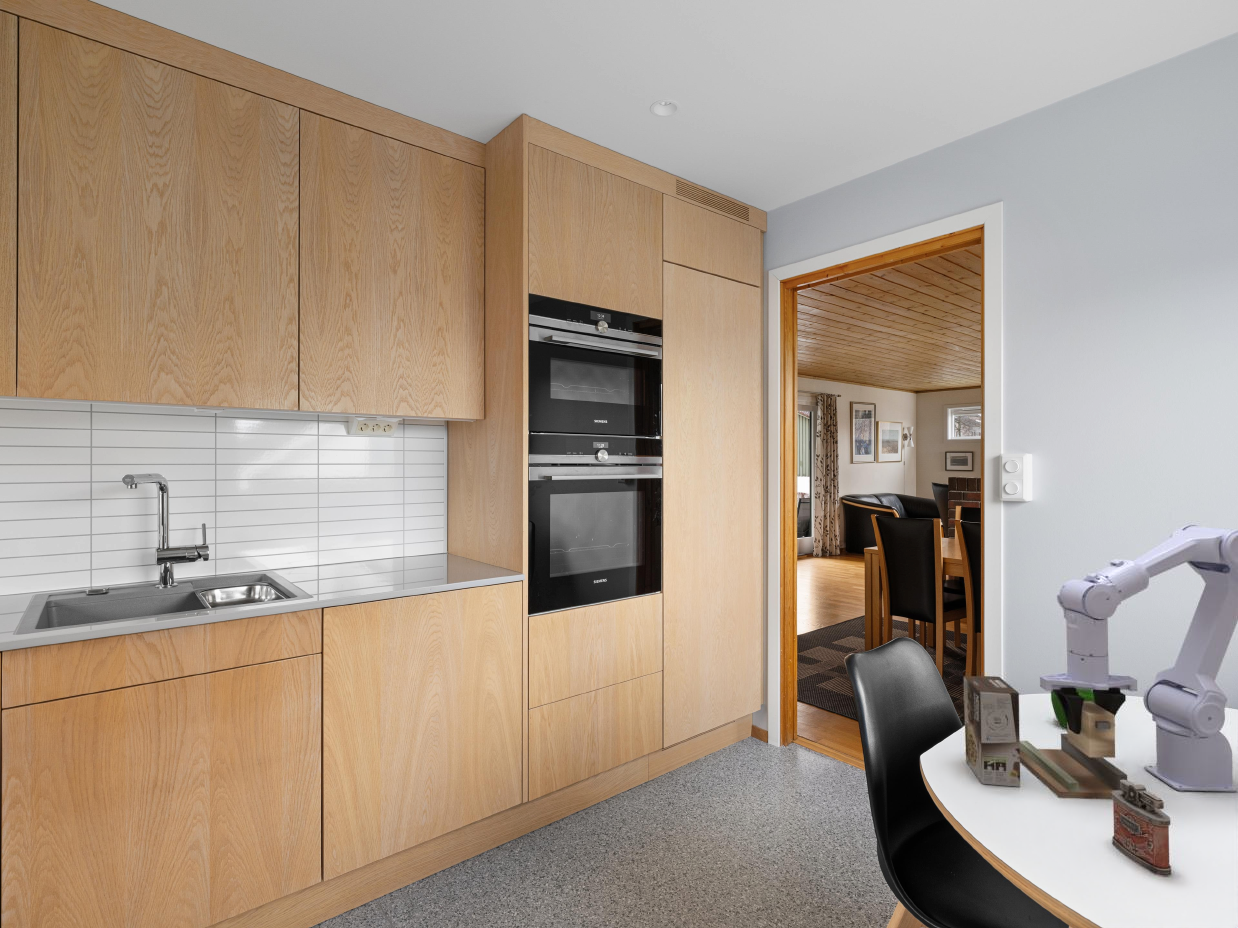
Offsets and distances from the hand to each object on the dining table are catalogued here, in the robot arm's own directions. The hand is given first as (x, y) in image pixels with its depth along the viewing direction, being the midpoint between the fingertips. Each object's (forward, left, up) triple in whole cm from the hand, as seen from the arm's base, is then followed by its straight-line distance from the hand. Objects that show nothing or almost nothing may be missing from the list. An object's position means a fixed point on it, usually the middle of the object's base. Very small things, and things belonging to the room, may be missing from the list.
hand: (1088, 731), depth 110 cm
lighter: (+5, +20, -10) cm, 23 cm away
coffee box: (+14, -4, -10) cm, 17 cm away
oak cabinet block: (0, 0, -3) cm, 3 cm away
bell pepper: (-12, -25, -10) cm, 30 cm away
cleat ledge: (+1, -4, -9) cm, 10 cm away
